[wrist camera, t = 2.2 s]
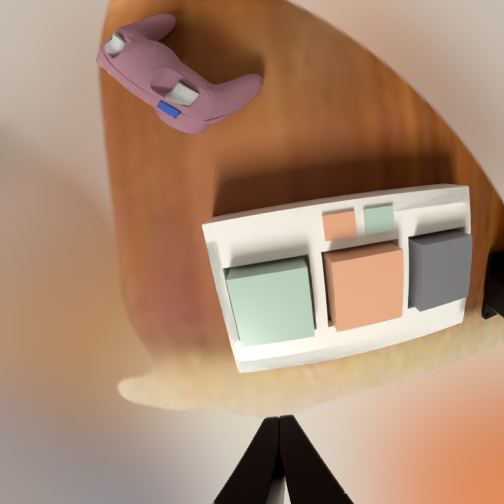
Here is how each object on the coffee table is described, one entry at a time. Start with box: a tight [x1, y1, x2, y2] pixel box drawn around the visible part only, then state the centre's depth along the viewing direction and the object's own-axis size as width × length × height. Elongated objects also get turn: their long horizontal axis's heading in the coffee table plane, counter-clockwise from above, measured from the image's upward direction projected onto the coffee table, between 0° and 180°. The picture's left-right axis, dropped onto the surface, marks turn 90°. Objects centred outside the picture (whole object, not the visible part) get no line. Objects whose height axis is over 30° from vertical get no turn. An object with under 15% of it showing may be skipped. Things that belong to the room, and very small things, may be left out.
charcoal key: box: [408, 229, 472, 312], centre depth 15 cm, size 4×4×2 cm
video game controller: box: [96, 14, 263, 134], centre depth 13 cm, size 10×5×7 cm, turn 46°
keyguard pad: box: [202, 184, 470, 373], centre depth 17 cm, size 17×10×3 cm, turn 100°
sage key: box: [226, 256, 315, 347], centre depth 16 cm, size 4×4×2 cm
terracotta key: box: [324, 241, 404, 332], centre depth 15 cm, size 4×4×2 cm
